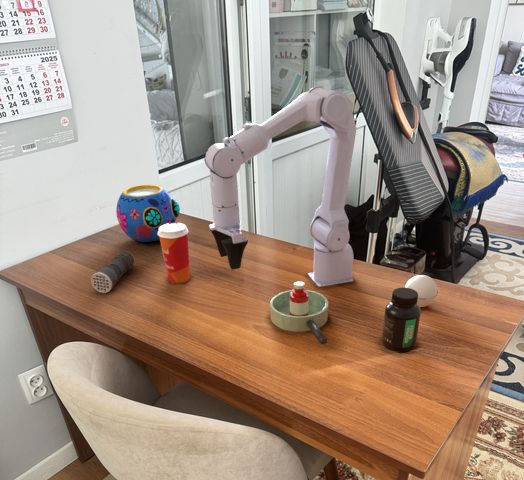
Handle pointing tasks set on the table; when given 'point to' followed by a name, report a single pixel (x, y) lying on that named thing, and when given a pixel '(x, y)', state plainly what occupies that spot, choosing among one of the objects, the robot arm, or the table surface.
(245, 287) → the table surface
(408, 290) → the supplement bottle
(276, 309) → the pan
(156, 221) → the ceramic pot
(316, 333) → the pan handle
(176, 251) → the paper cup
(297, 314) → the sauce bottle
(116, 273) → the flashlight
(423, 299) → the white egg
